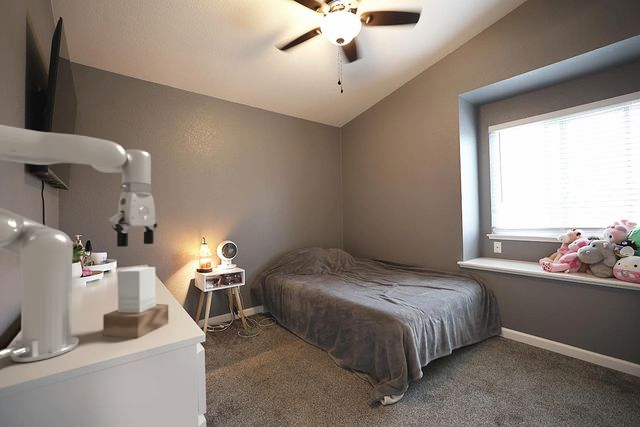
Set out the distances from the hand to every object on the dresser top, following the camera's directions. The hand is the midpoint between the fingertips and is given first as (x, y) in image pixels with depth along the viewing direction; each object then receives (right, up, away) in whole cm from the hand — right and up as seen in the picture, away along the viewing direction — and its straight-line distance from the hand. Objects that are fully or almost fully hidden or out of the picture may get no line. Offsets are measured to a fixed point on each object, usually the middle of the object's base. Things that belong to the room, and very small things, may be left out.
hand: (136, 245), depth 89 cm
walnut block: (+1, -26, 0) cm, 26 cm away
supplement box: (0, -20, 0) cm, 20 cm away
